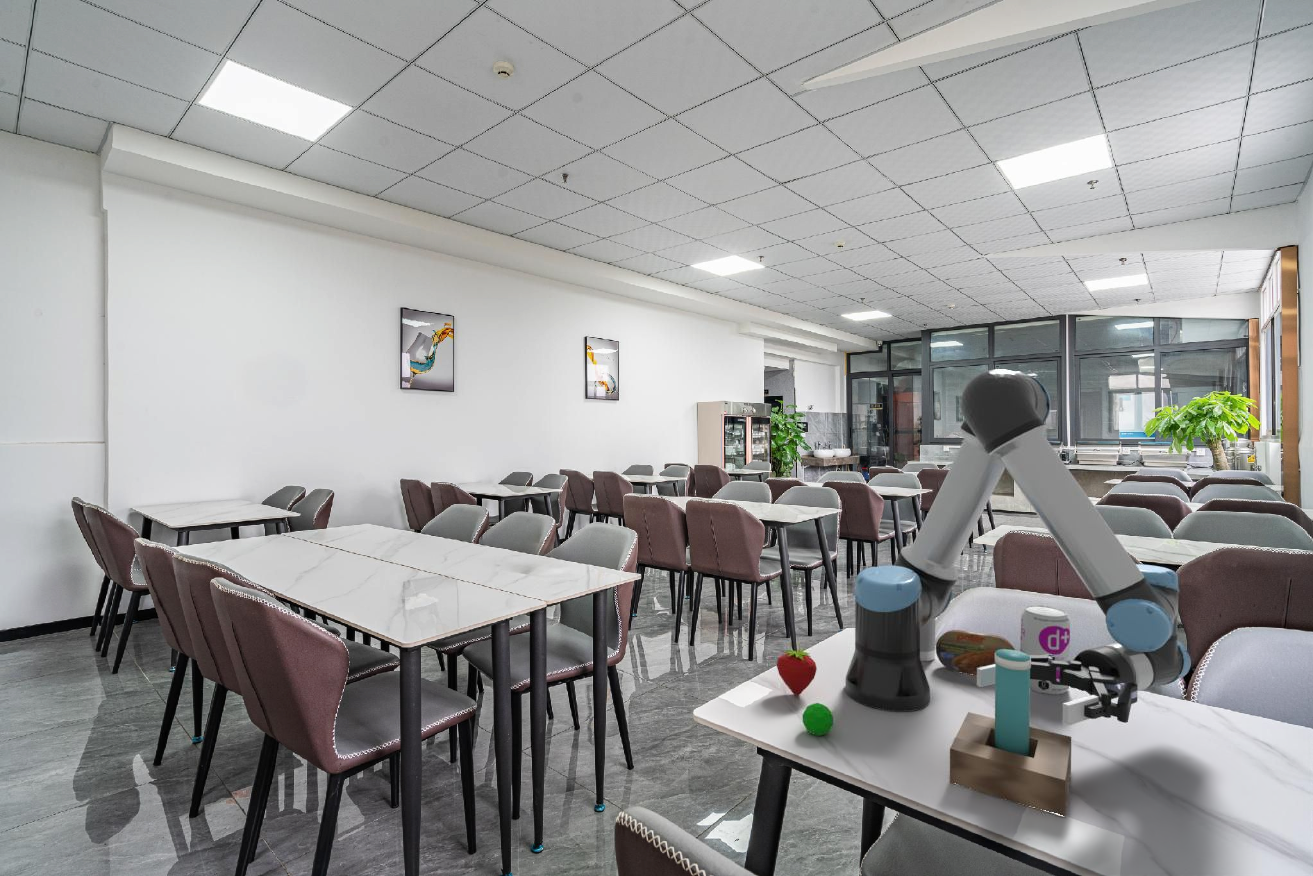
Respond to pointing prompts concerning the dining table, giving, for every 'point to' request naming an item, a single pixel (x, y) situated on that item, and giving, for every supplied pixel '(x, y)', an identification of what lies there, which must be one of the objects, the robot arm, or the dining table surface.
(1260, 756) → the dining table surface
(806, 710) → the polyhedron
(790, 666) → the strawberry
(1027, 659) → the peg
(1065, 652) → the supplement can
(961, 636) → the tin
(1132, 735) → the dining table surface
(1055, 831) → the dining table surface
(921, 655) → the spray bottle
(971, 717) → the socket block
